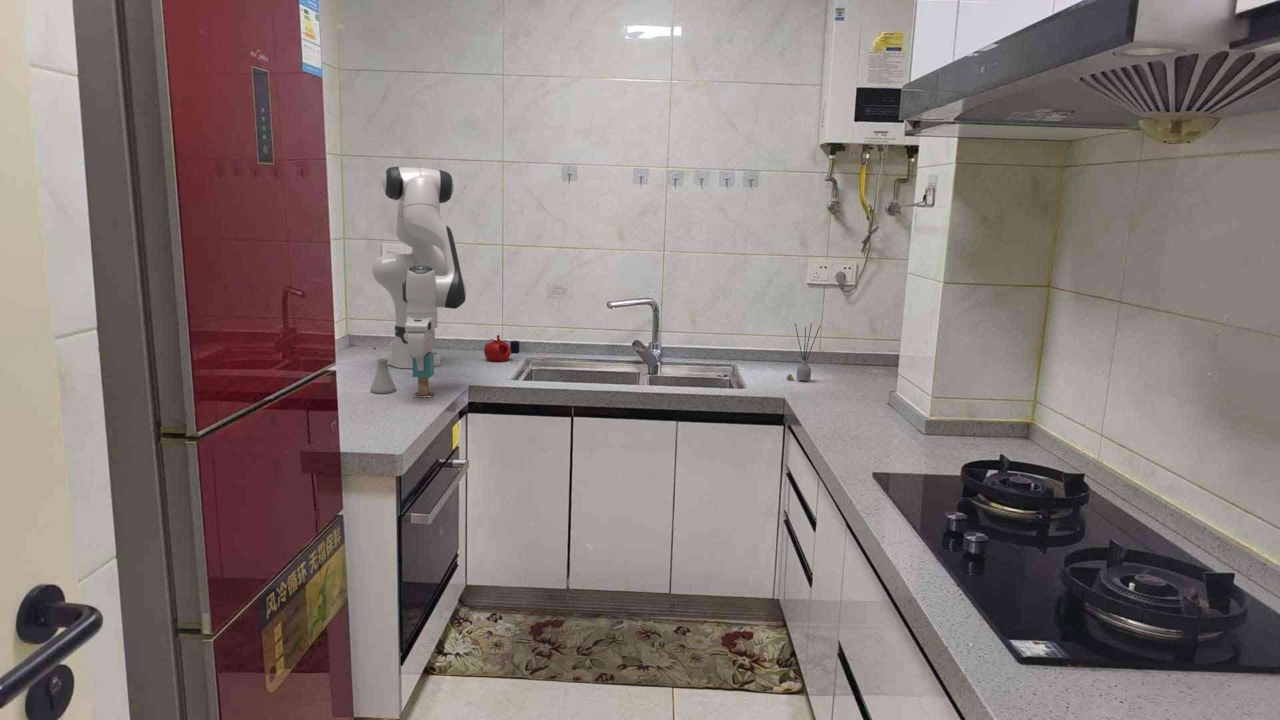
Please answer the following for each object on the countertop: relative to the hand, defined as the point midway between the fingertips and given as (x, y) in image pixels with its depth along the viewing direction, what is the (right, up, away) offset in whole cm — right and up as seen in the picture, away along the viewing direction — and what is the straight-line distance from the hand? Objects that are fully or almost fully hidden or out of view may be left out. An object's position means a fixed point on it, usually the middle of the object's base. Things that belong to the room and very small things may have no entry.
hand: (423, 368), depth 247 cm
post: (0, -8, +2) cm, 8 cm away
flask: (-14, -7, +6) cm, 16 cm away
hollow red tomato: (+12, +2, +59) cm, 61 cm away
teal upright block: (0, -2, 0) cm, 2 cm away
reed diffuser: (+119, -5, +35) cm, 124 cm away
